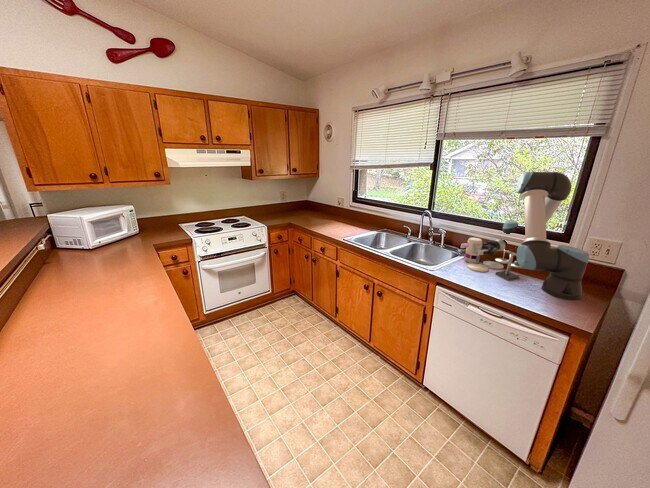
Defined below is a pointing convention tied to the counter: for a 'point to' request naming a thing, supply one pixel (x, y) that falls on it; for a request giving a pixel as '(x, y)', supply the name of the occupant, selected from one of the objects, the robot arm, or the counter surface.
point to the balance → (508, 267)
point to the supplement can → (473, 250)
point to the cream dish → (478, 267)
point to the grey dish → (493, 265)
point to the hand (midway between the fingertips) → (469, 249)
